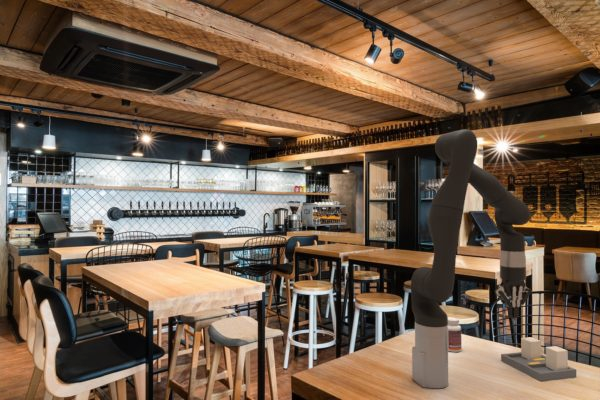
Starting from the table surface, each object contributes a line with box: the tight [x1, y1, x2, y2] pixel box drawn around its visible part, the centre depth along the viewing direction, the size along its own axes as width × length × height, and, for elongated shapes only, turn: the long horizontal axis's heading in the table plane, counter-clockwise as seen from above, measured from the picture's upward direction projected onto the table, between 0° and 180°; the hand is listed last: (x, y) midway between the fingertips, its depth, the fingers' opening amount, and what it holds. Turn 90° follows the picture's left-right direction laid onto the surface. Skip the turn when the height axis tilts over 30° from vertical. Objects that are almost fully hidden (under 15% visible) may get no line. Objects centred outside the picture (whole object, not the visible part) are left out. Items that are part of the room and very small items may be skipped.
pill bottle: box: [447, 316, 463, 353], centre depth 142 cm, size 6×6×11 cm
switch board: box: [500, 351, 577, 382], centre depth 125 cm, size 13×16×2 cm
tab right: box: [545, 345, 569, 370], centre depth 121 cm, size 4×4×6 cm
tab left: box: [520, 336, 542, 359], centre depth 130 cm, size 4×4×6 cm
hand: (513, 317), depth 128 cm, fingers closed
